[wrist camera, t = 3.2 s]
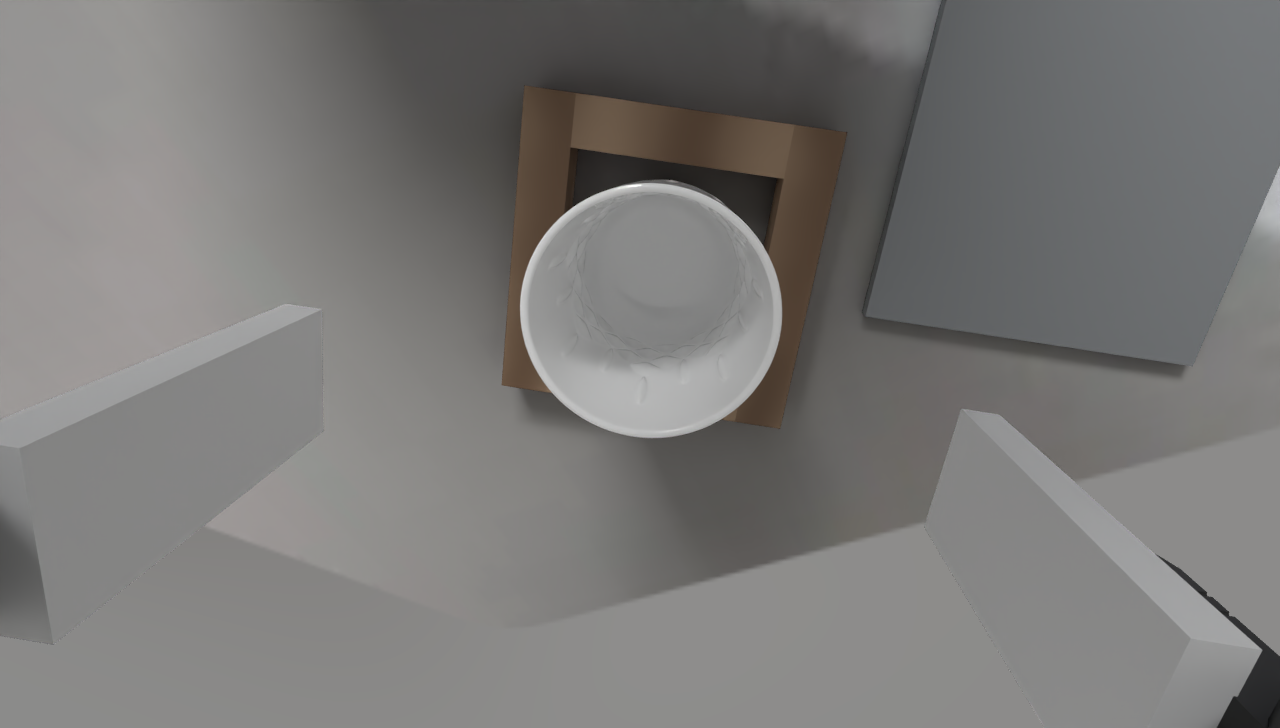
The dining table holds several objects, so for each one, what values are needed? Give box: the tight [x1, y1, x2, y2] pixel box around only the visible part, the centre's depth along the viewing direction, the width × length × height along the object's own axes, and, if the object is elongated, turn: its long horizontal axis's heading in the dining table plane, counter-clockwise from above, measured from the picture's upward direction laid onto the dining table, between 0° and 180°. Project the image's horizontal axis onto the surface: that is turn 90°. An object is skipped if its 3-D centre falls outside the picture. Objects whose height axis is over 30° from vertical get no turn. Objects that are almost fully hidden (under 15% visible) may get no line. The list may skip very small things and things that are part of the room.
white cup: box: [520, 179, 782, 438], centre depth 25 cm, size 8×8×10 cm
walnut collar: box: [502, 85, 847, 429], centre depth 29 cm, size 12×12×2 cm
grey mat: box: [862, 0, 1280, 366], centre depth 27 cm, size 14×14×1 cm
